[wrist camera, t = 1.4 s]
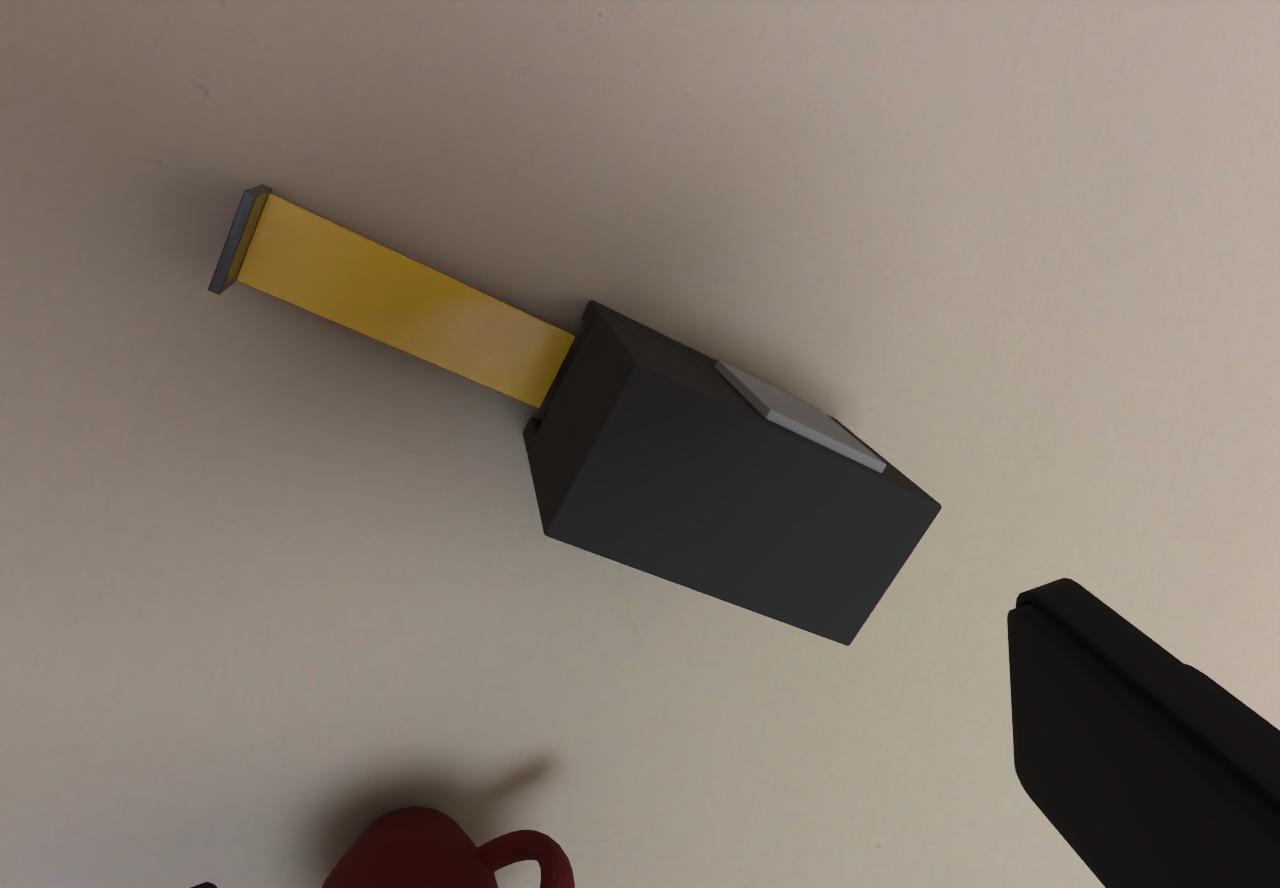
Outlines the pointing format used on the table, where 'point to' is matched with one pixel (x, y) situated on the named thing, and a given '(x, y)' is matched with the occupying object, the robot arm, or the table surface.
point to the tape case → (719, 482)
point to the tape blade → (388, 297)
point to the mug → (441, 855)
